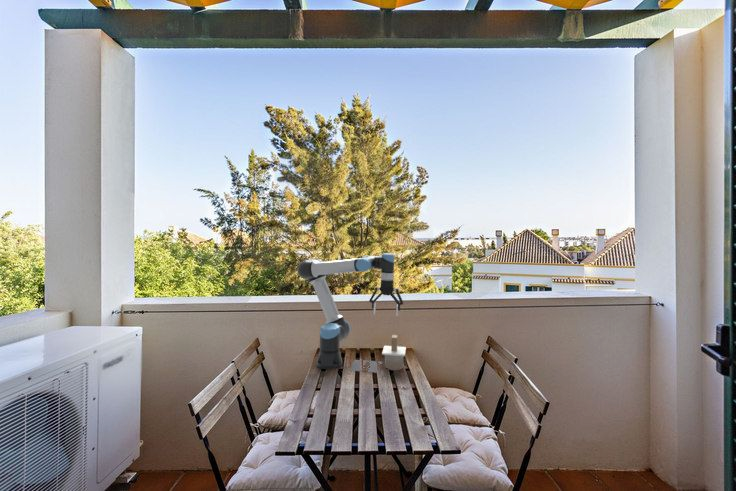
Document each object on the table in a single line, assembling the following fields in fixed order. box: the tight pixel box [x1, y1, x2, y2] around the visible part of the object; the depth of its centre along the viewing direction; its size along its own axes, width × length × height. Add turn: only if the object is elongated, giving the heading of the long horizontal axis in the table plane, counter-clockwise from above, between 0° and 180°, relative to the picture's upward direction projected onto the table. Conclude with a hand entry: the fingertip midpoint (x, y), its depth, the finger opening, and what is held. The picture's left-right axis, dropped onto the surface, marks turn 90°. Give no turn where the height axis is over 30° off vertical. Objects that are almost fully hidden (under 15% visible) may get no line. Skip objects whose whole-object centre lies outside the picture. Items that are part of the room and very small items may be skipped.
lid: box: [381, 334, 407, 357], centre depth 216 cm, size 13×13×9 cm
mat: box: [349, 359, 383, 374], centre depth 217 cm, size 17×17×1 cm
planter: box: [384, 355, 404, 371], centre depth 217 cm, size 11×11×10 cm
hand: (385, 314), depth 221 cm, fingers open, 13 cm apart
